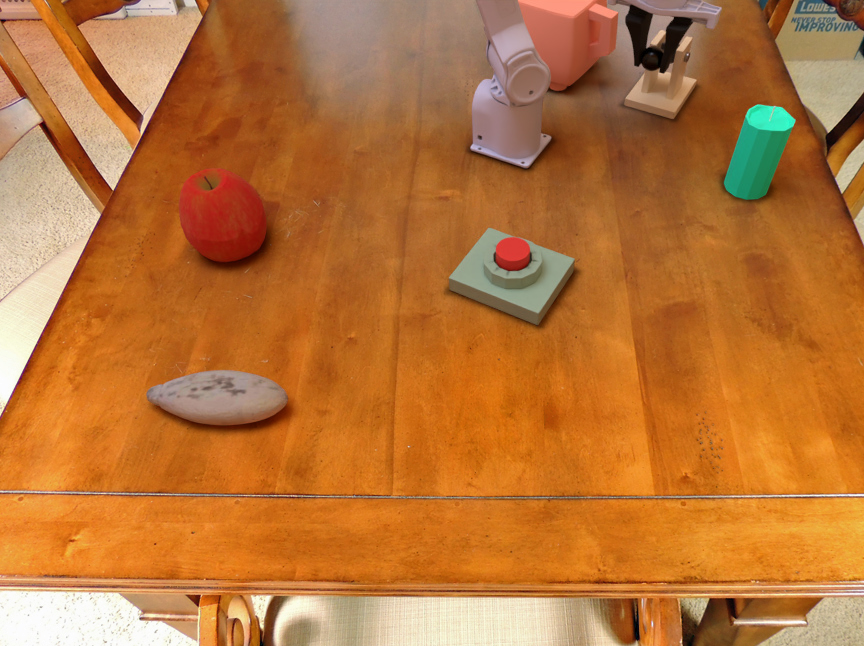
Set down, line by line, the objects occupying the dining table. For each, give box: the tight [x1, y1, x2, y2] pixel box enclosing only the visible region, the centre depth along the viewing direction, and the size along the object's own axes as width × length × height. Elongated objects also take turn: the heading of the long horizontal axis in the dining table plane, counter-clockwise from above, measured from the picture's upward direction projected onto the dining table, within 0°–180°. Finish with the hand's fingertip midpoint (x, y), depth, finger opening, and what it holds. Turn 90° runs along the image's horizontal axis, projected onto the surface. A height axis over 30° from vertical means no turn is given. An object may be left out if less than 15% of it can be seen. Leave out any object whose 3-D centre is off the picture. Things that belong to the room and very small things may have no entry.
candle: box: [723, 104, 797, 201], centre depth 89 cm, size 6×6×12 cm
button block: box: [448, 227, 576, 326], centre depth 82 cm, size 12×10×4 cm
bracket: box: [623, 29, 698, 120], centre depth 103 cm, size 10×8×9 cm
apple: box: [178, 167, 268, 263], centre depth 84 cm, size 10×10×10 cm
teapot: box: [518, 0, 619, 92], centre depth 106 cm, size 22×13×14 cm, turn 56°
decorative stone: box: [146, 369, 289, 426], centre depth 72 cm, size 6×16×3 cm, turn 88°
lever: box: [640, 42, 681, 71], centre depth 97 cm, size 12×3×3 cm, turn 151°
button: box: [496, 236, 530, 271], centre depth 80 cm, size 4×4×2 cm
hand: (651, 66), depth 95 cm, fingers closed on lever, 3 cm apart
